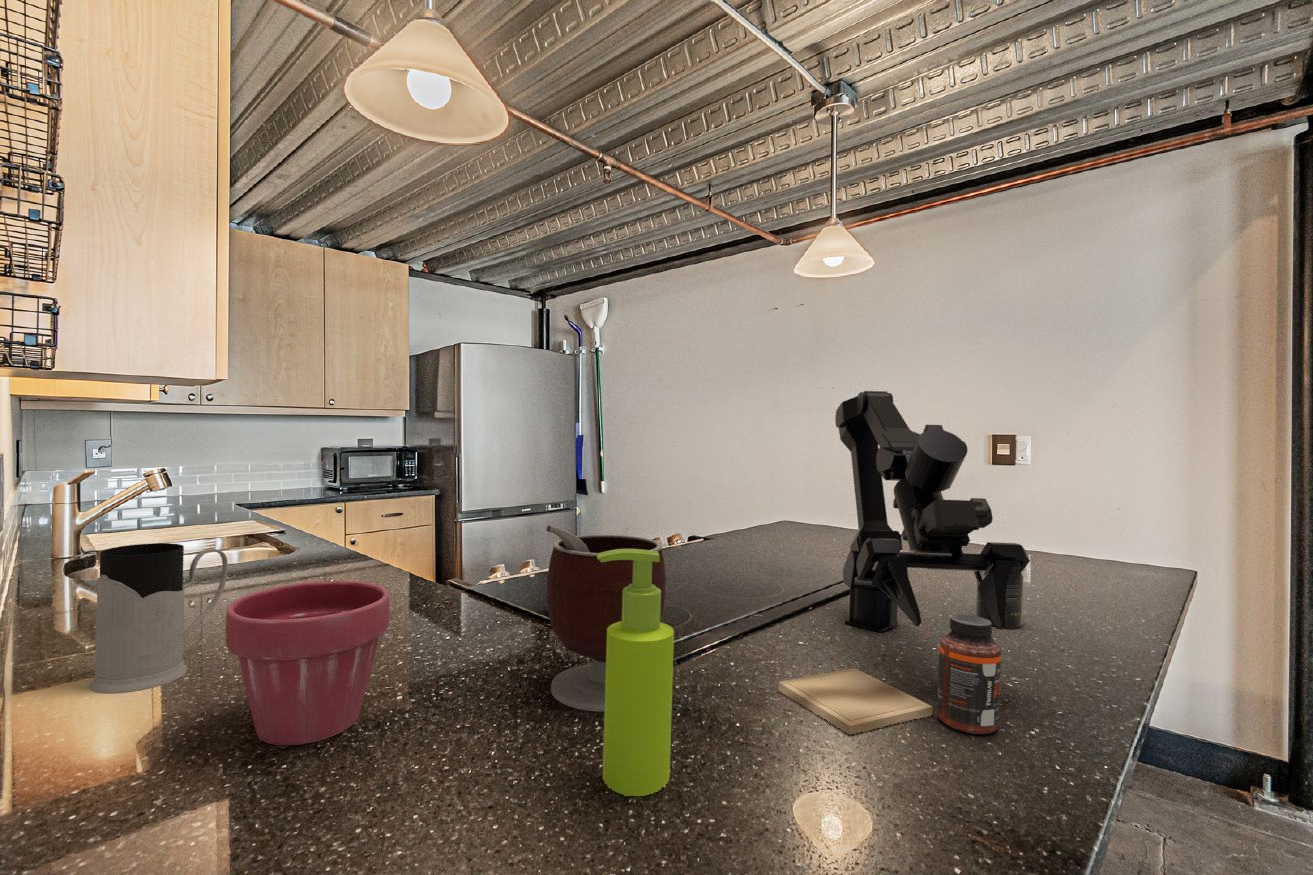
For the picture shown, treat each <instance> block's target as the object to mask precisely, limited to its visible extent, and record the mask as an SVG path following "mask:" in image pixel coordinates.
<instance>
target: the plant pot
mask: <svg viewBox="0 0 1313 875" xmlns="http://www.w3.org/2000/svg"><path fill="white" fill-rule="evenodd" d="M389 621H390V594H389V591H388V590H387V588H385V587H383V586H380V585H378V584H374V583H371V582H370V583H369V582H363V581H356V580H355V581H354V580H352V581H351V580H325V581H324V580H323V581H311V582H310V581H308V582H299V583H293V584H292V583H291V584H287V585H286V584H285V585H281V586H280V585H279V586H274V587H271V588H267V589H262V590H259V591H255V592H251V593H248V594H246V595H244V596H241V597H240V598H238V599H236V600H234V601H233V602H231V603H230V604H229V605H228V606H227V609H226V616H225V645H226V648H227V651H229V652H230V654H233V655H235V656H237V658H238V663H239V668H240V672H241V677H242V683H243V686H244V691H245V695H246V699H247V702H248V706H249V710H250V713H251V717H252V721H253V725H254V729H255V733H256V735H257V738H258V739H260V740H261V741H262V742H265V743H267V744H271V745H275V746H276V745H277V746H296V745H297V746H298V745H304V744H310V743H314V742H315V743H316V742H319V741H321V740H326V739H328V738H331V737H333V736H335V735H338V734H340V733H342V732H344V731H346V730H347V729H349V728H350V727H352V726H353V725H354V724H355V723H356V722H357V721H358V719H359V716H360V713H361V710H362V705H363V703H364V699H365V695H366V692H367V688H368V683H369V680H370V676H371V672H372V668H373V663H374V660H375V656H376V652H377V646H378V642H379V639H380V638H379V637H382V635H384V634H385V633H386V632H387V630H388V628H389V624H390V623H389Z"/></svg>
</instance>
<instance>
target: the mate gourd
mask: <svg viewBox="0 0 1313 875" xmlns="http://www.w3.org/2000/svg"><path fill="white" fill-rule="evenodd" d="M546 532H547V533H550V534H551V533H552V534H554V535H556V536H557V537H558V538H559V539H557V540H555V541H554V542H553V543H552V551H551V552H552V553H551V555H550V560H549V565H548V570H547V576H546V577H547V578H546V581H547V582H546V583H547V584H546V601H547V603H546V604H547V609H548V610H547V612H548V617H549V622H550V626H551V629H552V631H553V633H554V634H555V635H556V637H557V638H558V640H559V641H560V643H562V644H561V645H563V647H564V648H565V649H566V650H568V651H570V652H572V653H575V654H578V655H580V656H584V657H587V658H590V659H592V663H589V664H581V665H578V666H573V667H571V668H568V669H565V670H563V671H561V672H559V673H558V674H556V675H555V676H554V677H553V678H552V680H551V685H550V691H551V696H553V698H554V699H555V700H556V701H558V703H559V702H560V704H562V705H565V706H567V707H570V708H573V709H577V710H582V711H587V710H588V711H589V712H605V680H606V647H607V628H608V627H609V626H610V625H612V624H614V623H617V622H620V621H622V593H623V589H624V588H625V587H627V586H628V585H630V584H632V581H633V560H612V561H607V562H600V561H599V560H598V559H597V554H598V553H601V552H605V551H610V550H616V549H643V550H652V551H658V553H659V562H653V561H652V584H653V585H655V586H656V587H657V588H659V589H660V590H661V610H660V622H662V621H661V620H662V618H663V613H664V609H665V608H664V607H665V601H666V585H667V583H666V582H667V581H666V580H667V579H666V578H667V576H666V567H665V566H666V565H665V558H664V553H663V549H662V548H663V544H662V543H661V542H660V541H657V540H654V539H650V538H647V537H639V536H632V535H622V534H621V535H619V534H587V535H586V534H583V535H575V534H573V533H571V532H570V531H569V532H568V531H567V530H565V529H562V528H561V527H557V526H554V525H552V524H548V525H547V526H546ZM588 711H587V712H588Z"/></svg>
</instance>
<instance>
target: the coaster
mask: <svg viewBox="0 0 1313 875" xmlns="http://www.w3.org/2000/svg"><path fill="white" fill-rule="evenodd" d="M777 691H778V692H780V693H782V694H784V695H785V696H786V697H788V698H789V699H791V700H793V701H794V702H796V703H797V702H798V703H797V704H798V705H800V704H801V705H800V706H802V707H804V706H805V707H806V708H805V707H804V708H805V709H807V710H808V711H810V710H811V711H812V712H811V711H810V712H811V713H813V714H814V715H817V716H818V715H819V716H820V717H819V716H818V717H819V718H821V717H822V718H823V720H824V719H826V720H827V721H828V722H827V721H826V720H825V721H826V722H827V723H829V722H830V723H832V724H833V725H832V724H831V725H832V726H834V725H835V726H836V727H835V726H834V727H835V728H837V729H838V728H840V729H841V730H842V732H843V731H844V732H843V733H845V732H846V733H847V734H846V733H845V734H846V735H848V734H849V735H851V734H855V733H858V732H863V733H867V732H871V731H874V730H873V729H875V730H878V729H877V728H880V729H883V727H884V728H886V727H885V726H888V727H890V726H889V725H892V726H894V725H893V724H896V725H898V724H897V723H900V724H903V723H902V722H904V723H906V722H905V721H908V722H910V721H909V720H912V721H914V720H913V719H917V720H920V718H921V719H924V718H928V716H929V717H932V716H931V715H933V716H934V714H933V712H934V711H933V710H934V709H933V708H934V707H933V705H930V704H928V703H927V702H924V701H922V700H920V699H918V698H916V697H915V696H912V695H910V694H908V693H906V692H905V691H902V690H900V689H898V688H896V687H894V686H892V685H889V684H888V683H886V682H884V681H881V680H879V679H877V678H876V677H874V676H872V675H870V674H868V673H865V672H864V671H861V670H859V669H857V668H855V667H854V668H847V669H841V670H837V671H831V672H825V673H820V674H815V675H814V674H813V675H809V676H803V677H798V678H791V679H786V680H782V681H778V682H777ZM923 717H924V718H923ZM822 718H821V719H822ZM830 723H829V724H830ZM840 729H839V730H840ZM841 730H840V731H841ZM870 730H871V731H870ZM849 735H848V736H849ZM855 735H856V734H855ZM851 736H852V735H851Z"/></svg>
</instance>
